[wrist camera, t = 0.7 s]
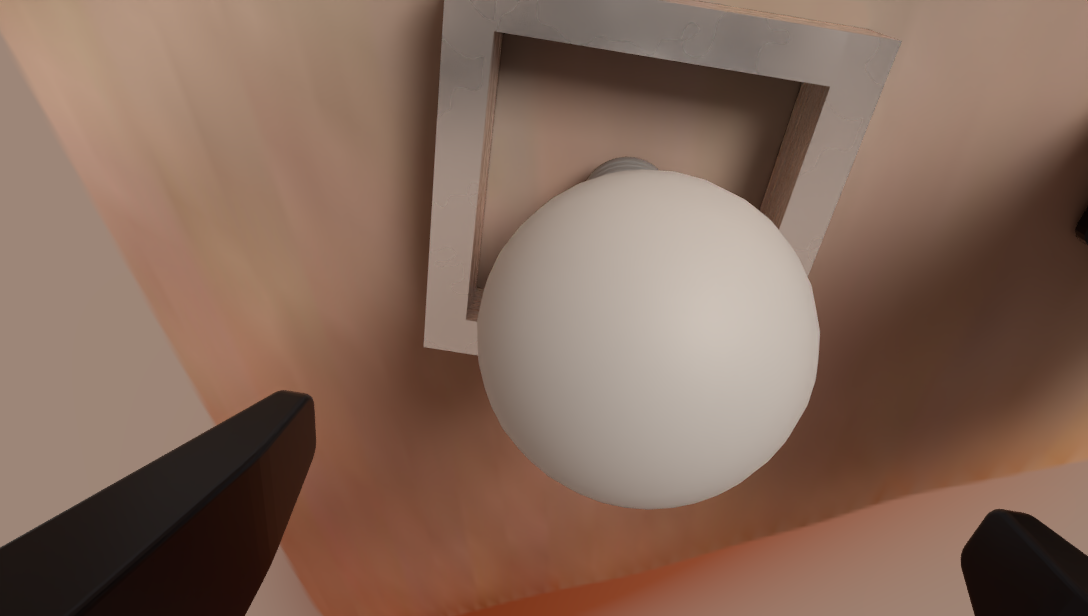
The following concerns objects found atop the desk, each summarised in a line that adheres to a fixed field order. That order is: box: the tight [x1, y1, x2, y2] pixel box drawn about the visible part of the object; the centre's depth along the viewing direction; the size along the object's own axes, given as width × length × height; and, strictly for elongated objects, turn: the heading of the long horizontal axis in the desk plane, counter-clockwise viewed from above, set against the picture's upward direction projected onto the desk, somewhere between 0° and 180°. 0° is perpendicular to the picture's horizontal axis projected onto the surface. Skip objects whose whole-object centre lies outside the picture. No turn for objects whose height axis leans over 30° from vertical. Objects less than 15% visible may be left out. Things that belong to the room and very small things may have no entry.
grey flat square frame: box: [424, 0, 902, 355], centre depth 18 cm, size 10×10×2 cm
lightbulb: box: [477, 157, 820, 509], centre depth 14 cm, size 6×6×11 cm
